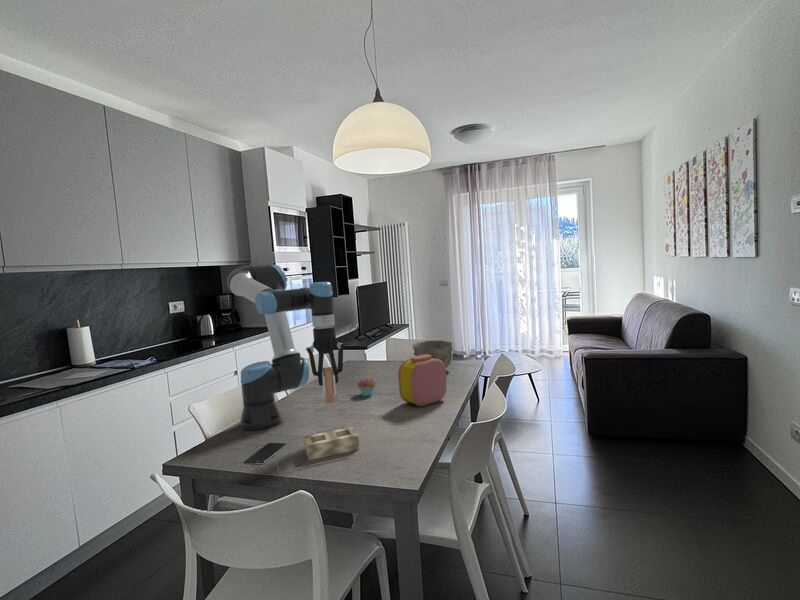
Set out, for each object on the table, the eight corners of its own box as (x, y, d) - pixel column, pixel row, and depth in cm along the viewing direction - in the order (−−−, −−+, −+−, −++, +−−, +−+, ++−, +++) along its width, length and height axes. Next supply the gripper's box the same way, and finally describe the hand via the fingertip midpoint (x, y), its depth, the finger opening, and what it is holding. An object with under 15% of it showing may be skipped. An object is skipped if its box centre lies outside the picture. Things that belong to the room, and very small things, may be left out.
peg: (326, 403, 149) (323, 369, 148) (324, 401, 152) (322, 367, 151) (335, 402, 150) (332, 368, 149) (333, 399, 153) (330, 366, 152)
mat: (321, 443, 146) (321, 442, 146) (316, 433, 155) (316, 432, 155) (350, 437, 149) (350, 436, 149) (343, 427, 158) (343, 426, 158)
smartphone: (287, 442, 147) (262, 463, 132) (288, 445, 147) (262, 465, 132) (268, 441, 149) (241, 461, 134) (269, 444, 149) (242, 464, 134)
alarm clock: (432, 394, 191) (429, 351, 190) (449, 399, 182) (446, 354, 181) (398, 404, 180) (395, 358, 179) (415, 410, 171) (411, 362, 170)
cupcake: (377, 391, 201) (376, 366, 200) (375, 397, 193) (373, 370, 192) (359, 392, 202) (357, 366, 201) (356, 397, 194) (354, 371, 193)
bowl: (434, 364, 246) (433, 338, 245) (463, 369, 230) (461, 342, 228) (405, 372, 233) (403, 345, 231) (433, 379, 216) (431, 349, 215)
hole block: (308, 461, 132) (307, 445, 132) (305, 451, 140) (303, 436, 139) (359, 450, 138) (358, 435, 137) (353, 441, 145) (352, 426, 145)
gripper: (302, 330, 143) (308, 400, 145) (349, 325, 148) (354, 392, 150) (299, 328, 150) (304, 394, 152) (344, 323, 155) (349, 387, 157)
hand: (329, 393), depth 151 cm, fingers closed on peg, 3 cm apart
